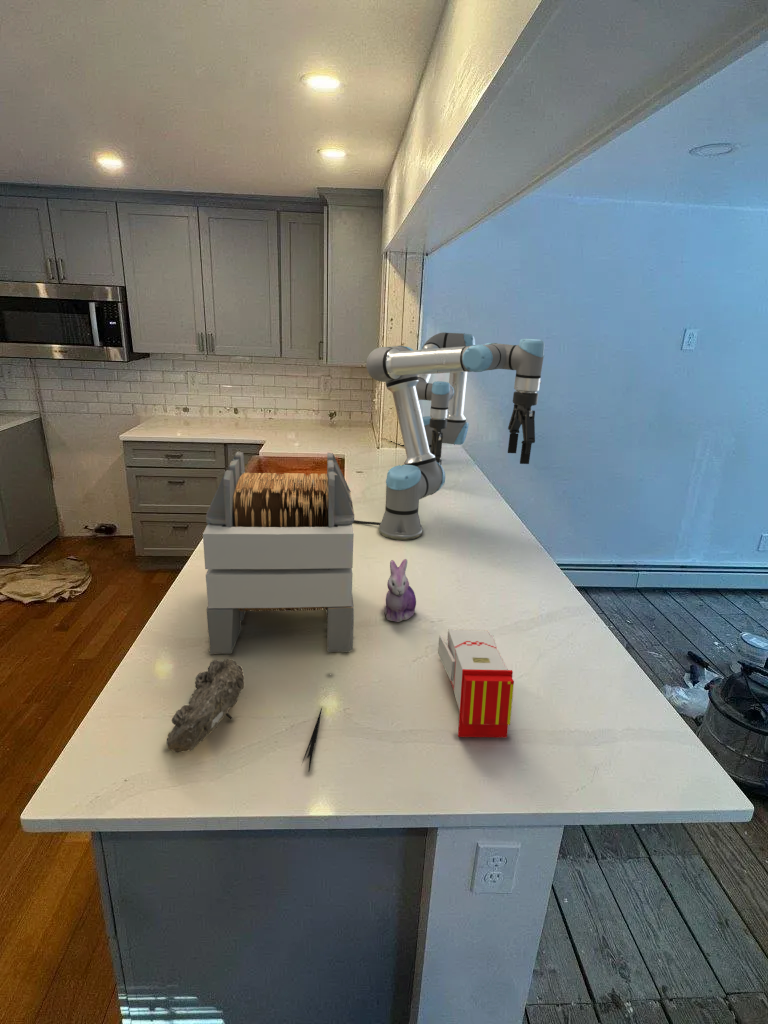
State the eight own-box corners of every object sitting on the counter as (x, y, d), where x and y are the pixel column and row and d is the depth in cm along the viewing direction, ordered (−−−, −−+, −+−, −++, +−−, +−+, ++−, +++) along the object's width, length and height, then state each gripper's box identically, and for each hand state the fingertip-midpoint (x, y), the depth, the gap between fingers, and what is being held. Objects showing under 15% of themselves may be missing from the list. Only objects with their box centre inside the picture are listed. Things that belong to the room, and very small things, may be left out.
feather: (331, 679, 122) (336, 673, 122) (307, 777, 96) (313, 769, 95) (324, 675, 122) (329, 669, 121) (298, 772, 95) (304, 764, 95)
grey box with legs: (229, 585, 158) (221, 442, 144) (346, 584, 161) (350, 444, 148) (206, 656, 126) (193, 481, 112) (353, 652, 130) (358, 483, 116)
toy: (488, 613, 130) (523, 677, 101) (484, 667, 133) (517, 744, 104) (435, 612, 130) (455, 676, 101) (432, 666, 133) (451, 743, 103)
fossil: (192, 660, 117) (244, 628, 112) (224, 691, 120) (276, 661, 115) (142, 746, 98) (202, 712, 93) (182, 779, 101) (242, 748, 96)
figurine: (392, 627, 141) (395, 572, 136) (374, 608, 149) (376, 556, 144) (425, 619, 145) (429, 566, 140) (405, 601, 154) (408, 550, 149)
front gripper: (552, 397, 164) (542, 468, 171) (525, 386, 187) (517, 449, 194) (526, 397, 163) (517, 468, 170) (503, 385, 187) (496, 448, 194)
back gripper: (451, 422, 236) (446, 476, 244) (443, 415, 253) (439, 465, 261) (433, 421, 236) (429, 475, 243) (427, 414, 252) (423, 465, 260)
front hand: (517, 458), depth 182 cm, fingers open, 13 cm apart
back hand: (434, 470), depth 252 cm, fingers closed on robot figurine, 5 cm apart
